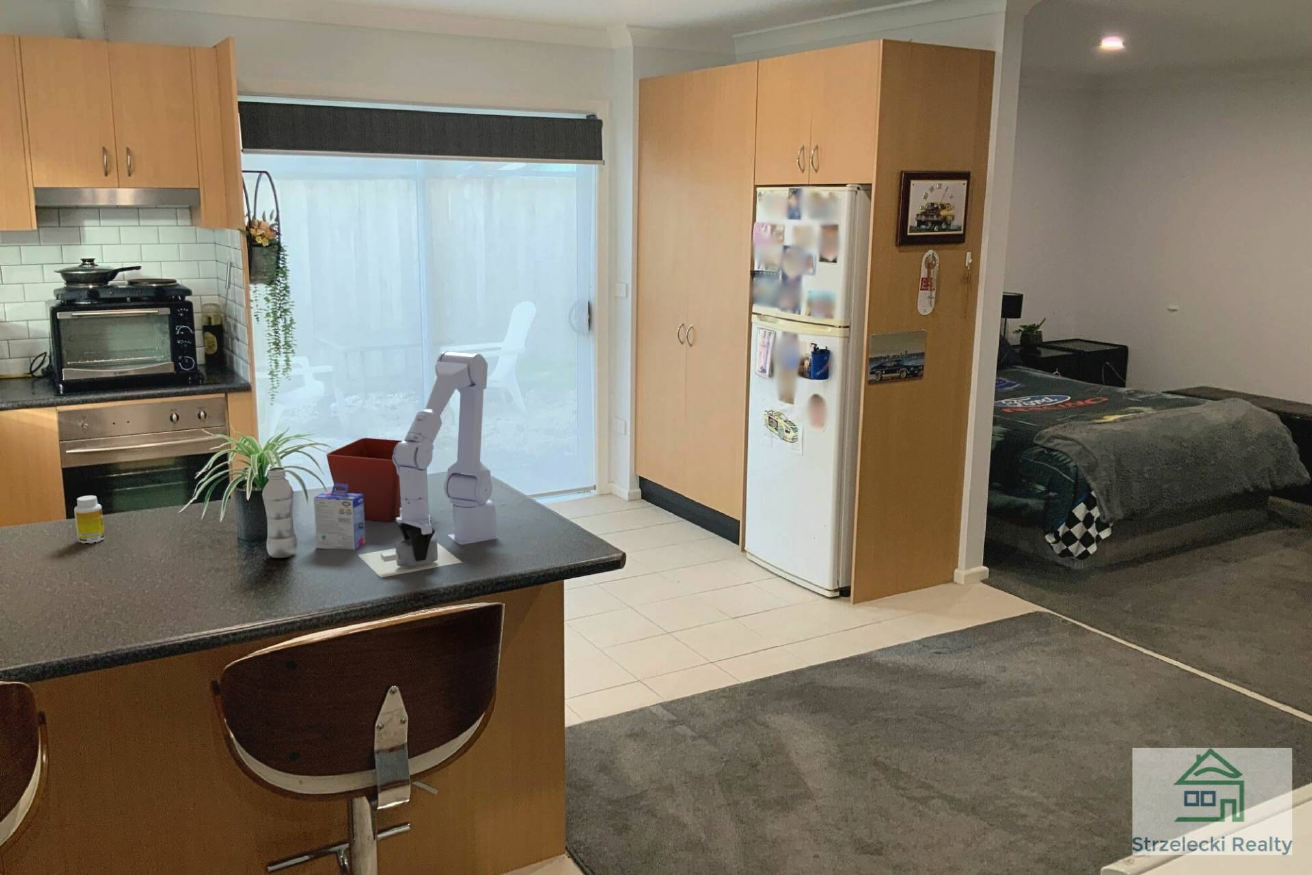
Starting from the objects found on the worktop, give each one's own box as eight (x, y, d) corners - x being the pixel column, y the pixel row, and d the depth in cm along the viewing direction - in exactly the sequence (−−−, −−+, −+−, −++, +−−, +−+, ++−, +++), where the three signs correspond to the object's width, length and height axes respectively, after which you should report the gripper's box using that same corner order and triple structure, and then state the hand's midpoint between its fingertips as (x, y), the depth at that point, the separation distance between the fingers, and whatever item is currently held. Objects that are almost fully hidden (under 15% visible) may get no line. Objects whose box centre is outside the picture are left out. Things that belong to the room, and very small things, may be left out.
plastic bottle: (305, 553, 235) (299, 467, 231) (282, 563, 229) (276, 474, 225) (283, 549, 238) (276, 463, 233) (260, 558, 232) (253, 471, 227)
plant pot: (434, 505, 272) (431, 441, 268) (400, 527, 254) (397, 460, 250) (366, 499, 276) (363, 437, 272) (328, 521, 258) (324, 454, 254)
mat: (435, 543, 243) (435, 541, 243) (462, 564, 230) (461, 562, 230) (358, 557, 234) (357, 554, 233) (380, 580, 220) (380, 577, 220)
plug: (433, 554, 231) (433, 535, 230) (440, 560, 228) (439, 540, 227) (380, 564, 225) (379, 544, 224) (386, 570, 222) (385, 550, 221)
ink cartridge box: (367, 544, 242) (364, 483, 239) (356, 552, 237) (352, 490, 234) (327, 541, 244) (323, 480, 241) (315, 548, 239) (311, 487, 235)
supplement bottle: (108, 541, 242) (103, 498, 240) (81, 546, 239) (75, 502, 237) (102, 534, 247) (97, 492, 244) (75, 539, 243) (70, 497, 241)
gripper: (384, 490, 228) (388, 550, 231) (407, 507, 216) (410, 570, 219) (416, 485, 231) (419, 544, 235) (440, 502, 219) (442, 564, 223)
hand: (417, 556), depth 227 cm, fingers closed on plug, 4 cm apart
